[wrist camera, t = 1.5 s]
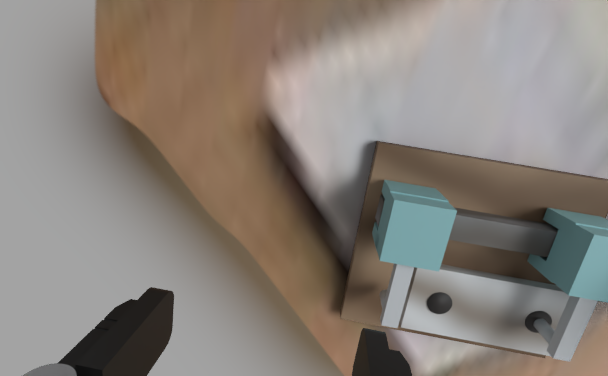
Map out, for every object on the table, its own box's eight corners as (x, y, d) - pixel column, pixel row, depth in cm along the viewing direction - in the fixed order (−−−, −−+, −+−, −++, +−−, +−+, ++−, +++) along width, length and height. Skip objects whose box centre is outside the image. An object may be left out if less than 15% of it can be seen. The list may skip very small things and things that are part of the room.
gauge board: (376, 140, 27) (382, 146, 24) (608, 179, 26) (644, 190, 23) (340, 310, 31) (340, 333, 28) (536, 348, 31) (559, 376, 28)
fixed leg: (547, 207, 26) (595, 233, 21) (601, 216, 26) (661, 244, 21) (505, 317, 29) (539, 362, 24) (553, 326, 28) (597, 373, 24)
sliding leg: (384, 179, 26) (394, 198, 22) (435, 188, 26) (457, 209, 21) (358, 290, 29) (363, 328, 24) (405, 298, 29) (418, 339, 24)
